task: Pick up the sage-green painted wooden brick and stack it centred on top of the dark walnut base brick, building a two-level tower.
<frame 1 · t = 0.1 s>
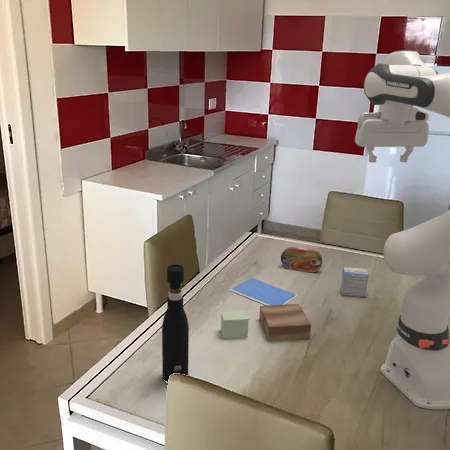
hand: (387, 161, 147), 48 cm above the table, tool pointing down, fingers open, 8 cm apart
black bottle: (175, 377, 129), on the table
walnut brick: (283, 329, 152), on the table
blue rectangular panel: (263, 295, 172), on the table
tin: (300, 270, 190), on the table
medicine box: (352, 294, 174), on the table
sage brick: (234, 333, 148), on the table
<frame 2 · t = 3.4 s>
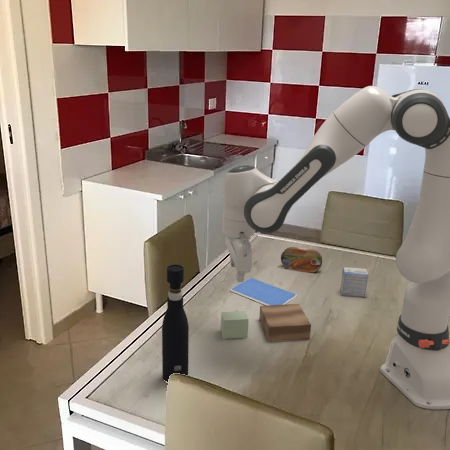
hand: (236, 273, 142), 19 cm above the table, tool pointing down, fingers open, 8 cm apart
nothing on the table moved.
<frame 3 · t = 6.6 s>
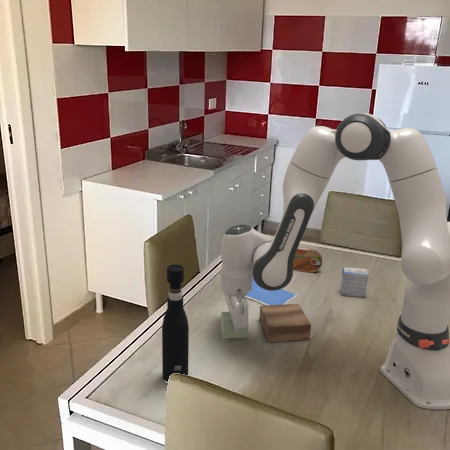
hand: (234, 325, 147), 3 cm above the table, tool pointing down, fingers closed on sage brick, 4 cm apart
sage brick: (233, 333, 148), on the table, touching gripper
everything else where it was.
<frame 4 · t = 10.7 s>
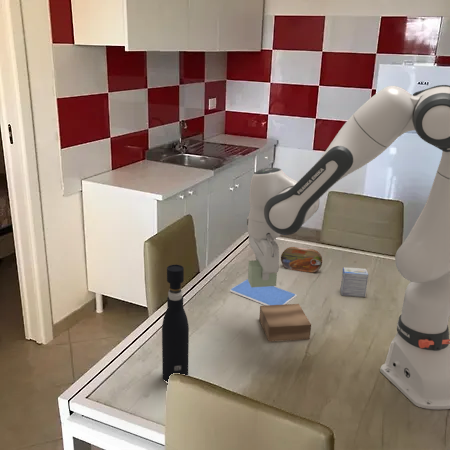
hand: (262, 274, 143), 18 cm above the table, tool pointing down, fingers closed on sage brick, 4 cm apart
sage brick: (261, 283, 144), point 16 cm above the table, touching gripper
everything else where it was.
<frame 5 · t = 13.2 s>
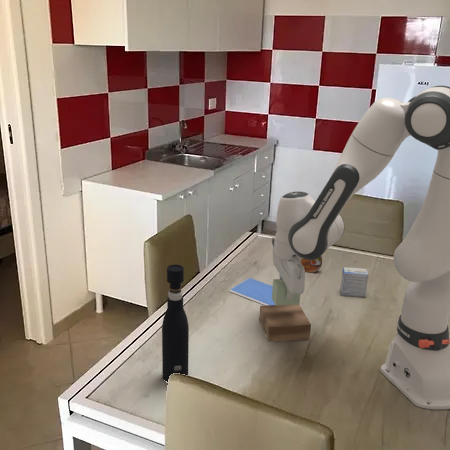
hand: (286, 293, 148), 12 cm above the table, tool pointing down, fingers closed on sage brick, 4 cm apart
sage brick: (285, 301, 149), point 9 cm above the table, touching gripper
everything else where it was.
when the fingers open (9 cm above the table, at t = 15.0 s): sage brick drops 2 cm, resting on walnut brick.
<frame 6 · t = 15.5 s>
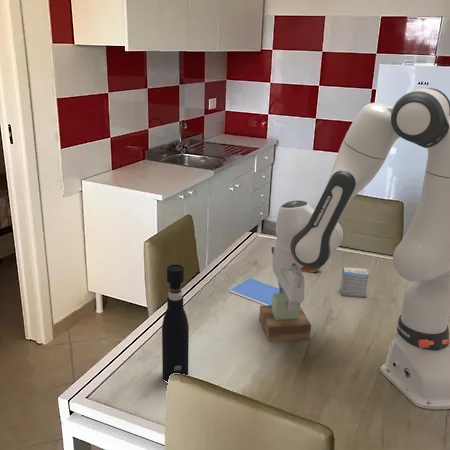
hand: (286, 301, 148), 9 cm above the table, tool pointing down, fingers open, 8 cm apart
walnut brick: (283, 329, 152), on the table, touching sage brick
sage brick: (285, 314, 150), point 5 cm above the table, touching walnut brick
everything else where it was.
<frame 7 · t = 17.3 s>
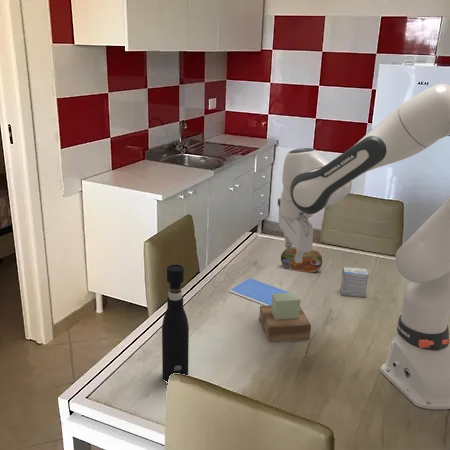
hand: (293, 255, 144), 23 cm above the table, tool pointing down, fingers open, 8 cm apart
walnut brick: (283, 330, 152), on the table
sage brick: (284, 314, 150), point 5 cm above the table
everything else where it was.
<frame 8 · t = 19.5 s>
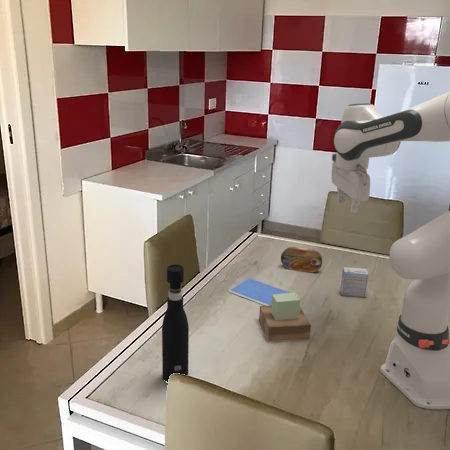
hand: (347, 207, 151), 34 cm above the table, tool pointing down, fingers open, 8 cm apart
walnut brick: (283, 330, 152), on the table, touching sage brick
sage brick: (284, 315, 150), point 5 cm above the table, touching walnut brick
everything else where it was.
at the end: sage brick inside the target area on the walnut brick (0.4 cm from its centre), point 5.0 cm above the walnut brick's base; sage brick tilted 0°; the gripper is holding nothing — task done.
